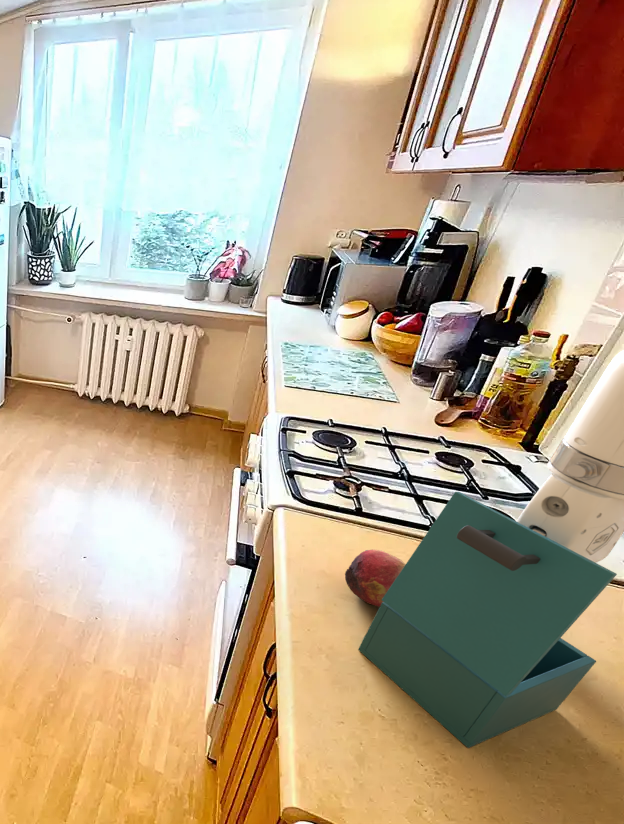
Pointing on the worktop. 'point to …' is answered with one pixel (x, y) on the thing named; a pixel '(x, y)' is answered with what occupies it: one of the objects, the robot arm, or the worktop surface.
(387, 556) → the fruit
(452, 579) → the teal box lid
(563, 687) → the teal box base
